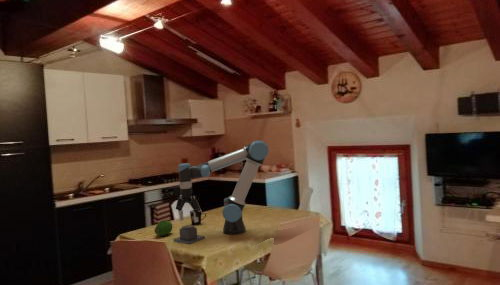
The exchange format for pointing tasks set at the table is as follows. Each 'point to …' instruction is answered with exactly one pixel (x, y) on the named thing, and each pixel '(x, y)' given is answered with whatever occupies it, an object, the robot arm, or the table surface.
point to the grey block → (188, 232)
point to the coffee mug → (198, 217)
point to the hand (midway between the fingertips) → (189, 221)
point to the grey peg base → (199, 237)
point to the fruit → (163, 227)
